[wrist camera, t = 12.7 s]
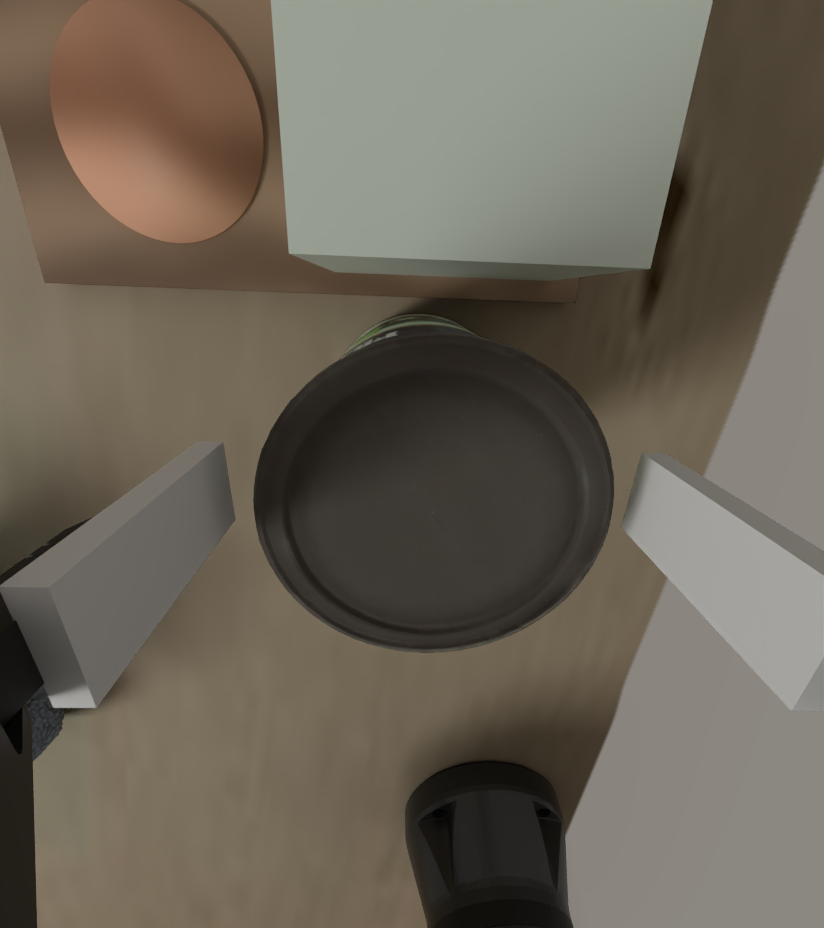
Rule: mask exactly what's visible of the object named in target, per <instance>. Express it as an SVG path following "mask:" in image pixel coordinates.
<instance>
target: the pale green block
mask: <svg viewBox="0 0 824 928" xmlns="http://www.w3.org/2000/svg"><path fill="white" fill-rule="evenodd" d="M712 2H713V0H271V11H272V25H273V39H274V53H275V67H276V81H277V95H278V109H279V123H280V137H281V151H282V165H283V179H284V193H285V207H286V221H287V235H288V249H289V254H291V255H294V256H296V257H299V258H301V259H304V260H306V261H309V262H311V263H313V264H316V265H318V266H321V267H323V268H326V269H328V270H331V271H333V272H342V273H367V274H392V275H417V276H441V277H466V278H491V279H516V280H540V281H554V280H562V279H570V278H578V277H587V276H595V275H603V274H611V273H619V272H628V271H636V270H644V269H650V268H651V264H652V259H653V255H654V251H655V247H656V242H657V238H658V234H659V229H660V225H661V221H662V217H663V212H664V208H665V204H666V199H667V195H668V191H669V187H670V182H671V178H672V174H673V169H674V165H675V161H676V157H677V152H678V148H679V144H680V140H681V135H682V131H683V127H684V122H685V118H686V114H687V110H688V105H689V101H690V97H691V92H692V88H693V84H694V80H695V75H696V71H697V67H698V62H699V58H700V54H701V50H702V45H703V41H704V37H705V32H706V28H707V24H708V20H709V15H710V11H711V7H712Z"/></svg>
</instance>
